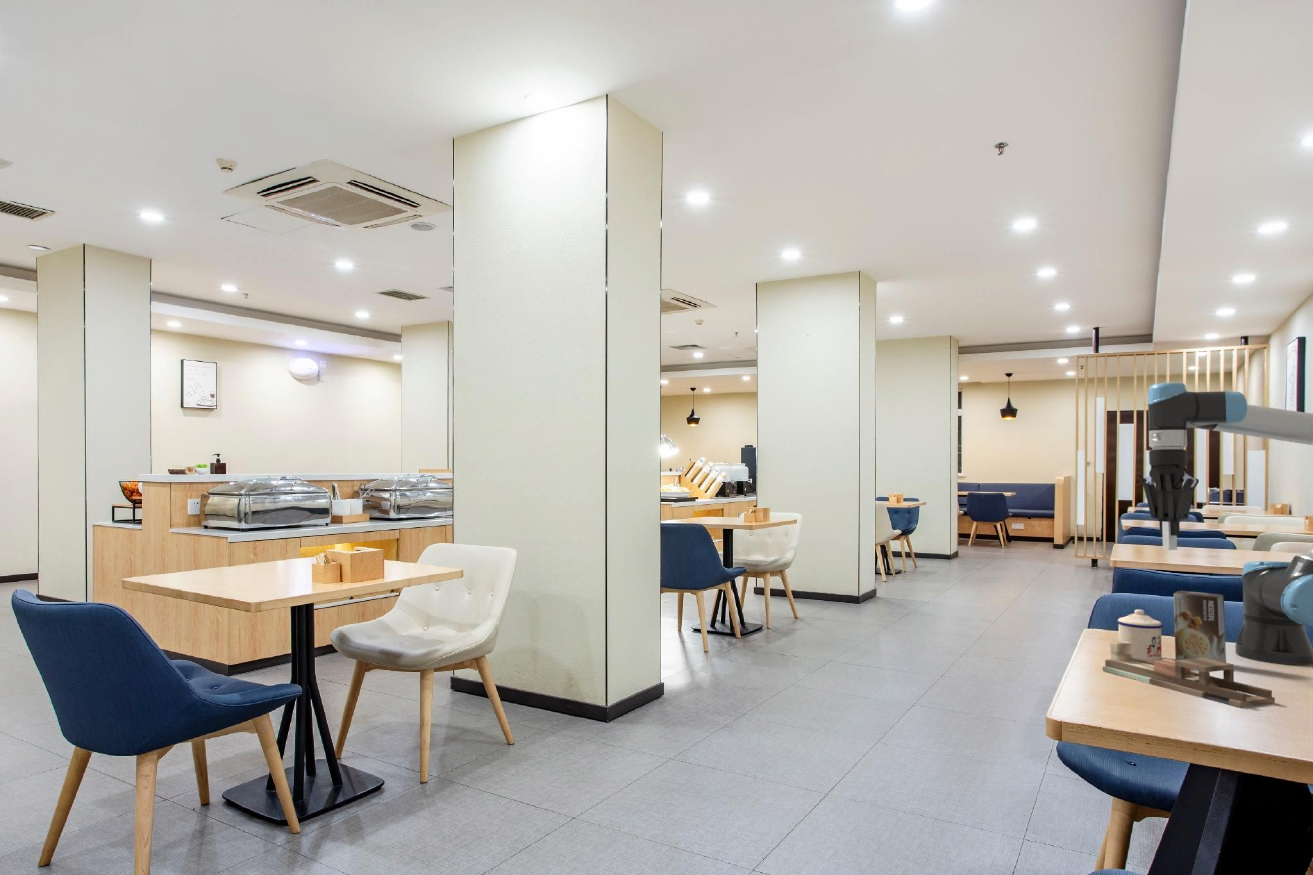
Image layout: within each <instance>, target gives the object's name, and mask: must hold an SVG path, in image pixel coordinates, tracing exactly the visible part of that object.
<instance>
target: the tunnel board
mask: <svg viewBox="0 0 1313 875" xmlns="http://www.w3.org/2000/svg"><path fill="white" fill-rule="evenodd" d="M1131 659H1132V660H1133V661H1137V662H1141V663H1146V664H1150V665H1154V662H1150V661H1146V660H1142V659H1138V658H1133V657H1131ZM1104 660H1105V662H1104V664H1105V665H1103V666H1102V672H1105V673H1108V672H1109V674H1113V675H1117V676H1120V677H1123V676H1124V678H1127V679H1131V680H1134V679H1136V681H1138V682H1142V681H1143V682H1142V683H1147V684H1150V685H1153V686H1157V687H1161V688H1164V689H1169V690H1172V691H1175V692H1180V693H1183V694H1187V695H1191V696H1195V697H1199V698H1202V699H1206V700H1209V701H1212V702H1213V701H1214V702H1217V703H1220V704H1225V705H1228V706H1231V707H1236V708H1246V707H1254V706H1262V705H1263V704H1264V705H1270V704H1275V702H1276V698H1275V697H1274V696H1273V690H1271V689H1267V688H1262V687H1259V686H1254V685H1249V684H1246V683H1242V682H1238V681H1235V677H1234V672H1235V669H1234V664H1233V663H1230V662H1226V663H1225V662H1221V661H1216V660H1212V659H1207V658H1195V659H1185V660H1174V661H1175V676H1173V675H1169V674H1165V673H1161V672H1157V671H1153V670H1149V669H1145V668H1141V667H1137V666H1133V665H1129V664H1125V663H1121V662H1117V661H1113V660H1111V659H1104ZM1185 668H1188V669H1191V675H1195V676H1199V682H1198V681H1194V680H1190V679H1185ZM1193 670H1194V671H1193ZM1195 671H1196V672H1195ZM1220 671H1221V672H1222V674H1223V678H1220V677H1216V676H1212V675H1210V673H1211V672H1220ZM1264 705H1263V706H1264Z"/></svg>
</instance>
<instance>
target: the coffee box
mask: <svg viewBox="0 0 1313 875" xmlns="http://www.w3.org/2000/svg"><path fill="white" fill-rule="evenodd" d="M1173 619H1174V620H1173V622H1174V625H1173V626H1174V646H1175V647H1174V652H1175V655H1174V656H1175V660H1185V659H1195V658H1207V659H1212V660H1216V661H1221V662H1225V663H1227V655H1226V654H1227V653H1226V652H1227V651H1226V650H1227V648H1226V622H1225V620H1226V619H1225V595H1224V594H1218V593H1208V592H1200V591H1199V592H1198V591H1188V590H1178V591H1175V592H1174V593H1173ZM1175 660H1174V661H1175Z"/></svg>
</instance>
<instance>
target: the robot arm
mask: <svg viewBox="0 0 1313 875" xmlns="http://www.w3.org/2000/svg"><path fill="white" fill-rule="evenodd" d="M1146 404H1147V410H1148V411H1147V414H1148V415H1147V416H1148V447H1149V448H1152V449H1150V450H1148V456H1149V457H1148V458H1149V460H1148V462H1149V465H1150V470H1149V473H1148V475H1147V476H1146V477H1141V478H1140V479H1139V482H1140V484H1141V485H1142V487H1143V490H1144V494H1145V498H1146V502H1147V506H1148V510H1149V513H1150V514H1149V515H1150V517H1151V518H1152V519H1156V520H1158V522H1159V534H1160V535H1161V536H1162V550H1166V551H1177V550H1178V536H1180V531H1181V530H1180V522H1181V521H1183V520H1187V519H1189V516H1190V513H1191V507H1192V503H1193V502H1192V501H1193V499H1194V498H1193V497H1194V492H1195V489H1196V487H1197V486H1198V485H1199V483H1200V480H1199V478H1194V477H1192V476H1191V475H1189V471H1188V470H1187V465H1188V450H1187V449H1185V448H1187V447H1188V437H1187V430H1188V429H1191V428H1193V429H1201V430H1207V431H1215V432H1222V433H1227V434H1228V433H1230V434H1236V435H1242V436H1248V437H1255V438H1262V439H1269V440H1275V441H1281V442H1282V441H1283V442H1288V443H1294V444H1296V443H1297V444H1300V445H1301V444H1303V445H1308V446H1313V412H1311V413H1310V412H1305V411H1304V412H1303V411H1295V410H1289V409H1283V408H1275V407H1268V406H1259V405H1254V404H1253V405H1252V404H1248V402H1247V398H1246V396H1245V395H1244V394H1243V393H1242V392H1240V391H1230V390H1229V391H1228V390H1224V391H1223V390H1222V391H1221V390H1220V391H1187V388H1186V385H1185V383H1182V382H1161V383H1155V384H1151V386H1149V387H1148V393H1147V403H1146ZM1242 567H1243V568H1242V574H1241V578H1242V606H1243V622H1242V626H1241V629H1240V632H1239V634H1238V636H1237V639H1236V641H1235V646H1234V647H1235V649H1234V650H1235V654H1236V655H1238V656H1240V657H1244V658H1248V659H1251V660H1257V661H1262V662H1267V663H1268V662H1269V663H1277V664H1287V665H1311V664H1313V646H1312V644H1311V642H1310V641H1311V640H1310V639H1309V637H1308V634H1307V632H1306V629H1305V628H1306V627H1305V626H1308V627H1309V626H1310V627H1313V543H1312V544H1311V546H1310V547H1309V549H1308V551H1307V552H1305V553H1300V554H1295V555H1294V557H1293V558H1292V560H1291V561H1267V560H1266V561H1248V562H1245V563H1244V565H1243V566H1242Z"/></svg>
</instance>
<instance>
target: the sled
mask: <svg viewBox="0 0 1313 875" xmlns="http://www.w3.org/2000/svg"><path fill="white" fill-rule="evenodd" d="M1110 660H1113V661H1117V662H1121V663H1125V664H1129V665H1133V666H1137V667H1141V668H1145V669H1149V670H1153V671H1157V672H1161V673H1165V674H1169V675H1173V676H1175V660H1170V659H1162V660H1159V661H1154V665H1150V664H1146V663H1141V662H1137V661H1133V660H1132V659H1131V643H1130V642H1125V641H1124V642H1119V641H1114V642H1113V641H1112V642H1110ZM1191 671H1192V669H1188V668H1185V679H1190V680H1194V681H1198V682H1199V676H1195V675H1191Z"/></svg>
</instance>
